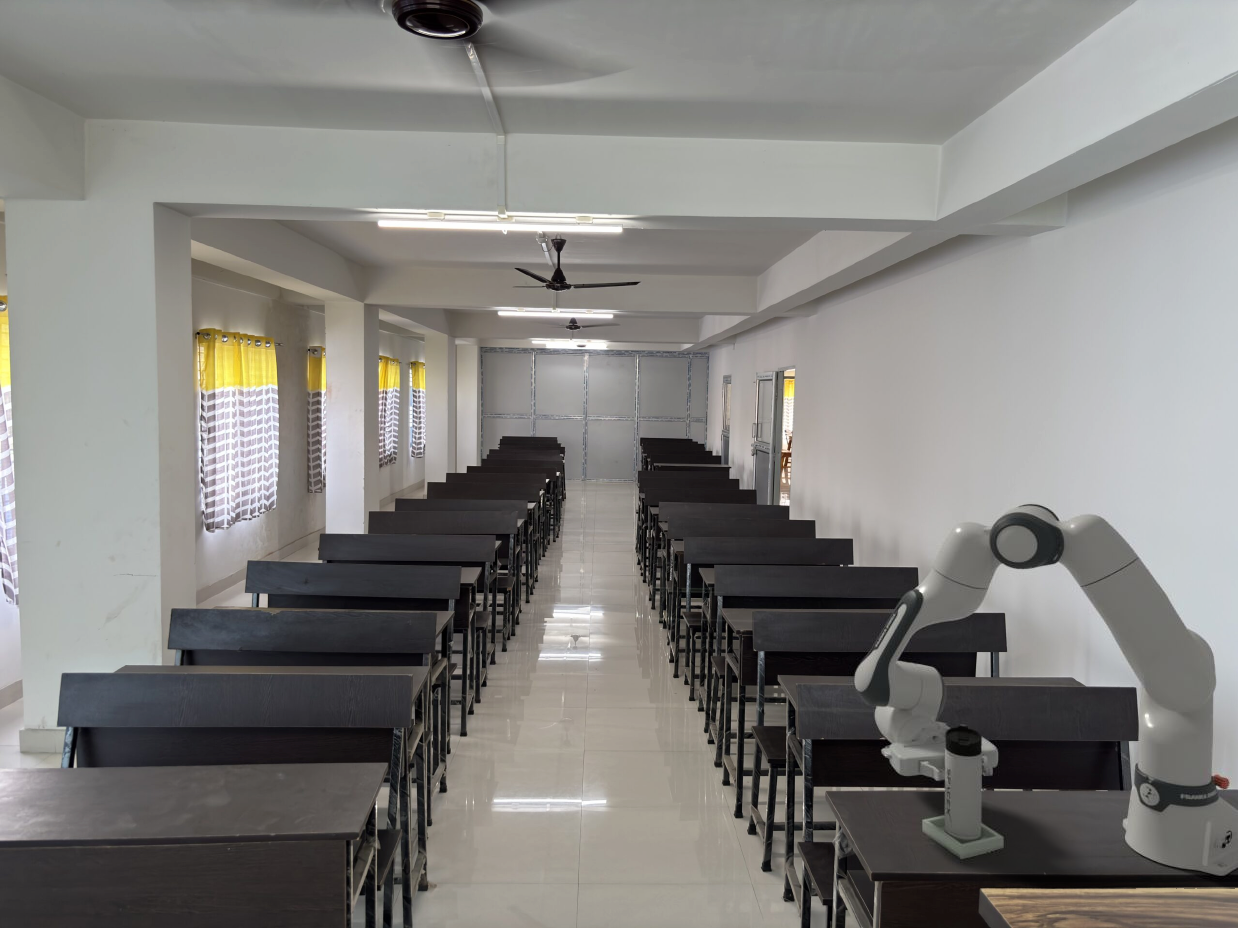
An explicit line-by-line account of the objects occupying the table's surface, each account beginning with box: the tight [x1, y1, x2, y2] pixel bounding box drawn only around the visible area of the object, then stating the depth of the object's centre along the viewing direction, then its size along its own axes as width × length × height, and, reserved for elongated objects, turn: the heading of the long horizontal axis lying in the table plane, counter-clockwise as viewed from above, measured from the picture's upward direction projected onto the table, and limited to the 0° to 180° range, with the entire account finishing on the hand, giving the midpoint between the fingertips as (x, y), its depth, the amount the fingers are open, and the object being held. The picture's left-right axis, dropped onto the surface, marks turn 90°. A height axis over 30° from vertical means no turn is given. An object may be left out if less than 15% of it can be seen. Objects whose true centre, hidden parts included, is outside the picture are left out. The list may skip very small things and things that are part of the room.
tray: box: [921, 814, 1005, 860], centre depth 157 cm, size 9×10×2 cm
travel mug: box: [944, 724, 983, 844], centre depth 156 cm, size 6×7×20 cm
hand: (965, 774), depth 155 cm, fingers open, 8 cm apart
